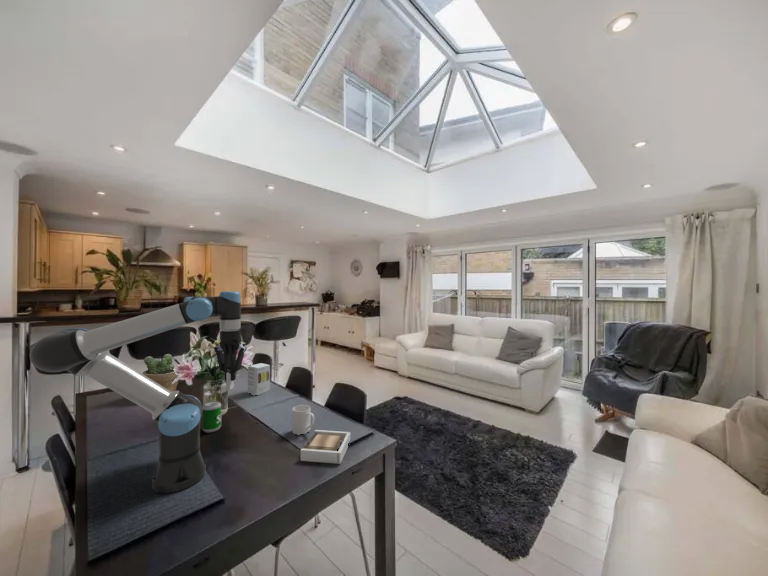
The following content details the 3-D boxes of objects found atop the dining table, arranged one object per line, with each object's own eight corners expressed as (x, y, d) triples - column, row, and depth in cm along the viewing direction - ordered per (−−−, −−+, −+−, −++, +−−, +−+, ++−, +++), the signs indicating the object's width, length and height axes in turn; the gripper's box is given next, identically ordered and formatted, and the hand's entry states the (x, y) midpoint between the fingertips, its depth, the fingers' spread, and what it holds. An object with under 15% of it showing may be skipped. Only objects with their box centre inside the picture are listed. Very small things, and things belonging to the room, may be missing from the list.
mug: (288, 432, 138) (288, 408, 138) (302, 425, 145) (303, 403, 145) (306, 440, 131) (306, 415, 131) (320, 433, 137) (320, 409, 137)
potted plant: (162, 390, 191) (162, 350, 191) (189, 392, 188) (189, 351, 188) (134, 401, 173) (134, 357, 172) (163, 403, 170) (163, 358, 170)
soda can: (213, 434, 136) (213, 407, 136) (198, 432, 137) (198, 405, 137) (225, 426, 143) (225, 400, 143) (210, 425, 145) (211, 399, 144)
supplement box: (256, 396, 182) (256, 368, 182) (247, 393, 187) (247, 365, 187) (270, 391, 190) (270, 364, 190) (261, 389, 195) (261, 362, 195)
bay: (340, 463, 114) (340, 453, 114) (300, 460, 116) (300, 450, 116) (350, 441, 130) (350, 432, 130) (315, 439, 132) (315, 429, 132)
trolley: (303, 456, 119) (303, 442, 119) (312, 442, 129) (313, 430, 129) (333, 458, 118) (333, 445, 118) (340, 444, 128) (340, 432, 128)
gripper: (250, 328, 126) (250, 386, 127) (221, 328, 128) (221, 384, 128) (240, 331, 119) (239, 392, 119) (208, 330, 121) (208, 390, 121)
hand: (230, 388), depth 124 cm, fingers closed
